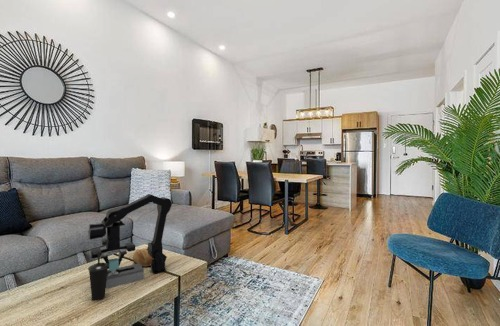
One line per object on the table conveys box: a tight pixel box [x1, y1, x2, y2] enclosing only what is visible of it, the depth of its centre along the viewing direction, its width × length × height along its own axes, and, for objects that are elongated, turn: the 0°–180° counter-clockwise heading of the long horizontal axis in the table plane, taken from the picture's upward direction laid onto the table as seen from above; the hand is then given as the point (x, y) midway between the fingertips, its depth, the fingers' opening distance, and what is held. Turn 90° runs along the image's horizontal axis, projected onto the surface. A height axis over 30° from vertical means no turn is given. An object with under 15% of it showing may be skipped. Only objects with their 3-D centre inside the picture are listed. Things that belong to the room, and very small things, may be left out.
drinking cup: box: [87, 252, 109, 302], centre depth 109 cm, size 8×8×20 cm
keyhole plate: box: [106, 263, 145, 290], centre depth 125 cm, size 18×9×5 cm, turn 126°
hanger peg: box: [108, 257, 120, 276], centre depth 122 cm, size 4×4×8 cm
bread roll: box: [132, 248, 153, 267], centre depth 145 cm, size 10×15×8 cm, turn 47°
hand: (113, 267), depth 122 cm, fingers closed on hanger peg, 4 cm apart
